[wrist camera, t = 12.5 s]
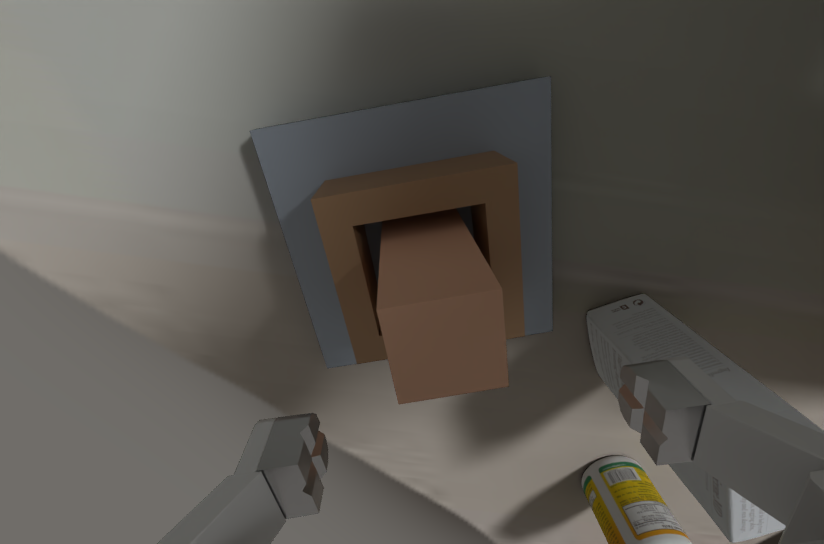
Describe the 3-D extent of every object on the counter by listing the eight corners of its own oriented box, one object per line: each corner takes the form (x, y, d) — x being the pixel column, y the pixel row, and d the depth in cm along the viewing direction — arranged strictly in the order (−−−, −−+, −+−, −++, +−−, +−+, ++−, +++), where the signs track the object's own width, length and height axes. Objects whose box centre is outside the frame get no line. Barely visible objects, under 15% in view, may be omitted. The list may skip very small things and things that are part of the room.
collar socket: (540, 77, 20) (590, 71, 15) (544, 318, 26) (580, 371, 21) (259, 128, 20) (216, 139, 15) (330, 354, 27) (316, 414, 22)
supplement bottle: (612, 444, 32) (696, 575, 23) (651, 468, 34) (743, 599, 25) (566, 480, 34) (627, 615, 25) (605, 502, 35) (676, 636, 26)
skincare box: (582, 311, 26) (720, 468, 15) (647, 289, 26) (839, 434, 15) (596, 376, 29) (724, 550, 18) (656, 357, 28) (825, 524, 17)
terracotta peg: (453, 204, 21) (502, 288, 12) (461, 269, 23) (508, 386, 14) (382, 217, 21) (376, 310, 12) (395, 281, 23) (398, 404, 14)
